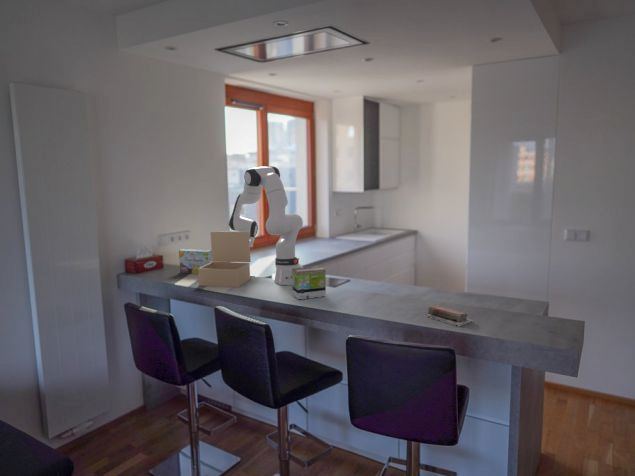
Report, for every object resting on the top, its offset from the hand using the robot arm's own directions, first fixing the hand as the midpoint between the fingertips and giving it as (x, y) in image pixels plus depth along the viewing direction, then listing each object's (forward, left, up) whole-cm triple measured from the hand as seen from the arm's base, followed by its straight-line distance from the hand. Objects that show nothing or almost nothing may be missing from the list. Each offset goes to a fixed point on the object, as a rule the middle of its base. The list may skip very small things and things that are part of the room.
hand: (230, 245), depth 281 cm
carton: (0, +11, -20) cm, 23 cm away
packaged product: (-124, +55, -21) cm, 138 cm away
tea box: (-56, +31, -21) cm, 67 cm away
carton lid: (0, +1, -1) cm, 1 cm away
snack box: (+29, -9, -21) cm, 37 cm away
